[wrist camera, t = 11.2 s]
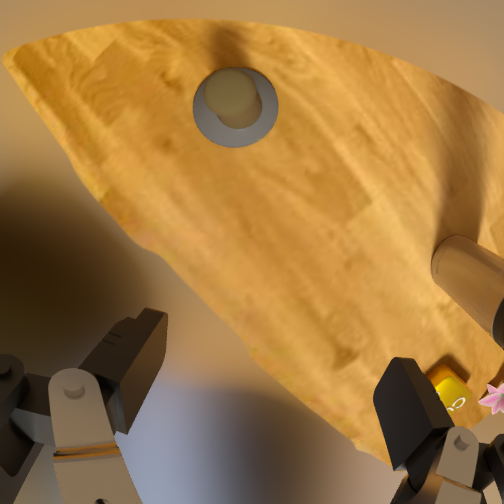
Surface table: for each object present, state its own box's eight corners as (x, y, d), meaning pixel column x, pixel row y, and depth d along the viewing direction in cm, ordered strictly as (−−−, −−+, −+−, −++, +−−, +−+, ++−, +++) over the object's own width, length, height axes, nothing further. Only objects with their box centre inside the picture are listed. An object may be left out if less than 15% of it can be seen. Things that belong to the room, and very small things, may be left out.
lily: (501, 360, 48) (503, 390, 41) (525, 374, 44) (528, 403, 37) (472, 387, 55) (470, 415, 48) (497, 399, 51) (496, 426, 44)
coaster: (284, 76, 33) (285, 75, 33) (269, 154, 37) (269, 154, 36) (202, 64, 33) (201, 63, 33) (187, 141, 37) (186, 140, 36)
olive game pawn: (226, 79, 33) (210, 52, 23) (270, 95, 34) (270, 72, 23) (208, 119, 35) (185, 106, 25) (251, 136, 36) (244, 128, 25)
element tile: (441, 360, 47) (451, 374, 42) (466, 383, 49) (475, 396, 44) (387, 407, 51) (393, 423, 46) (419, 423, 53) (425, 437, 49)
